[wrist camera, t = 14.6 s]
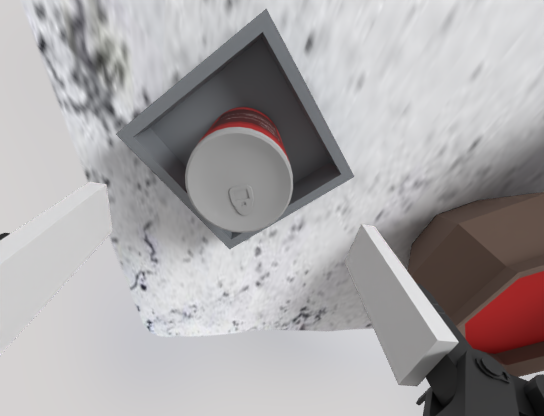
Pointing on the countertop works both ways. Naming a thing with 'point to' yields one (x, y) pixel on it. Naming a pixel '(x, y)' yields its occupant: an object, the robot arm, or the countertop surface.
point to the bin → (231, 94)
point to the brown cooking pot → (489, 276)
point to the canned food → (240, 172)
